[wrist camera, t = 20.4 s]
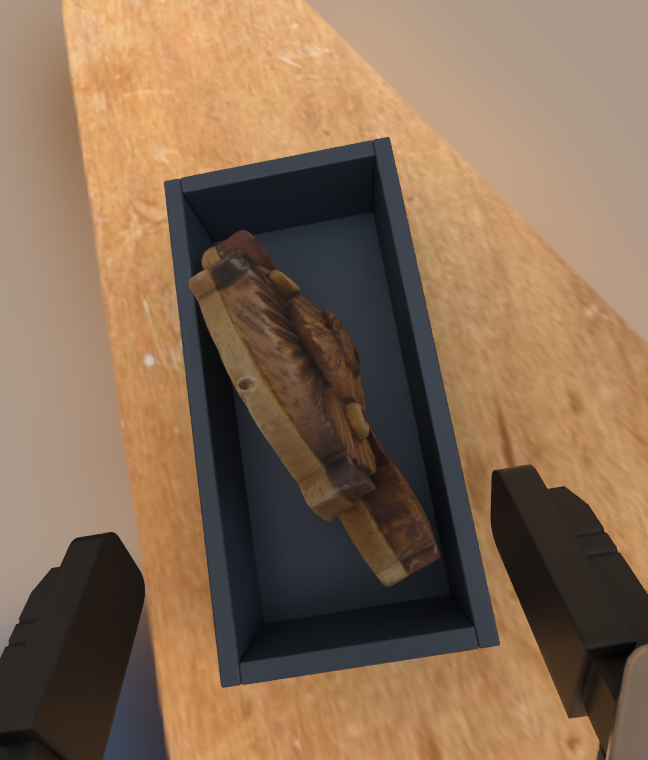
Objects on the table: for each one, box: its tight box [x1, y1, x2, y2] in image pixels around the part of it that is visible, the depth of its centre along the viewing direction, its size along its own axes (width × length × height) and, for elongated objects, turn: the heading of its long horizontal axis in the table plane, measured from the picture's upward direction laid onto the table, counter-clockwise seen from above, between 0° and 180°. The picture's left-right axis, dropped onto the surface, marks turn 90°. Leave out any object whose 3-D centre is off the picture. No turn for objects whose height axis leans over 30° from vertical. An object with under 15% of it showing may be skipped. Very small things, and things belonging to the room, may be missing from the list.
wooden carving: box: [189, 230, 440, 587], centre depth 20 cm, size 16×5×10 cm, turn 34°
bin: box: [164, 137, 500, 688], centre depth 23 cm, size 11×22×6 cm, turn 9°
